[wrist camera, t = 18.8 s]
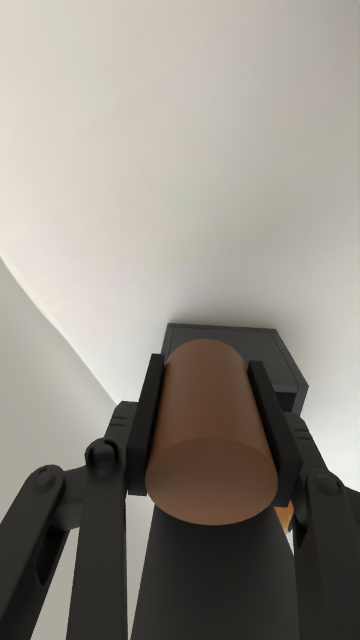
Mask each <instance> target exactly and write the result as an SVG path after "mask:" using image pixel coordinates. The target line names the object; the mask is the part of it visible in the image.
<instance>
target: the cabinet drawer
mask: <svg viewBox="0 0 360 640" xmlns="http://www.w3.org/2000/svg"><path fill="white" fill-rule="evenodd" d="M130 640H300V636H299V621H298V606H297V591H296V576H295V561H294V555H293V553H292V550H291V548H290V545H289V543H288V540H287V538H286V535H285V533H284V530H283V527H282V525H281V522H280V520H279V517H278V515H277V512H276V510H275V507H270V506H268V507H266V508H265V509H264V510H263V511H261V512H260V513H258V514H257V515H255V516H253V517H251V518H249V519H246V520H244V521H240V522H237V523H232V524H225V525H202V524H195V523H190V522H187V521H183V520H180V519H178V518H175V517H173V516H171V515H169V514H168V513H166V512H164V511H163V510H162V509H160V508H159V507H158V506H157V505H156V504H155V506H154V511H153V517H152V522H151V528H150V533H149V539H148V544H147V550H146V555H145V562H144V567H143V572H142V578H141V584H140V589H139V594H138V600H137V606H136V612H135V617H134V623H133V628H132V634H131V639H130Z"/></svg>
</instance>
